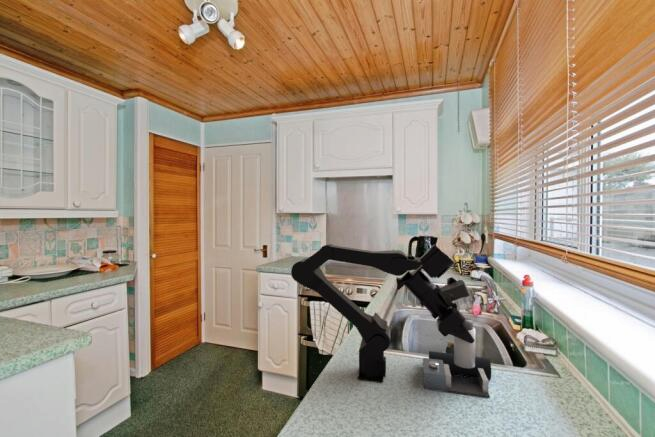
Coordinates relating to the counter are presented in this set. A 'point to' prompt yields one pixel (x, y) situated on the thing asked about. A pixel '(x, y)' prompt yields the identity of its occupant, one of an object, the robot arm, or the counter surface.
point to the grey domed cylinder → (465, 348)
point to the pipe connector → (454, 369)
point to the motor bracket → (453, 380)
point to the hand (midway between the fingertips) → (470, 337)
